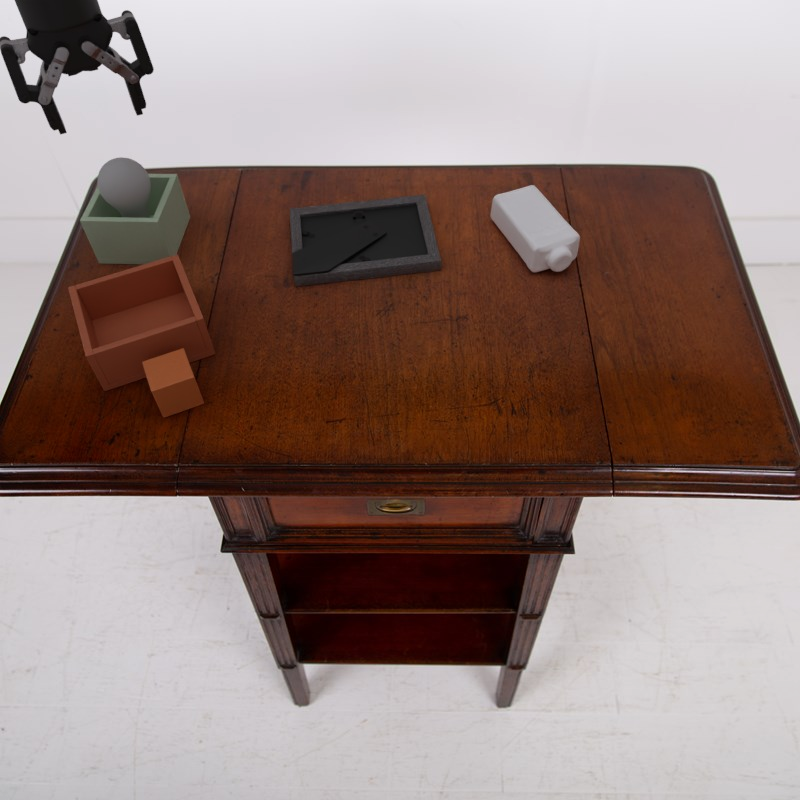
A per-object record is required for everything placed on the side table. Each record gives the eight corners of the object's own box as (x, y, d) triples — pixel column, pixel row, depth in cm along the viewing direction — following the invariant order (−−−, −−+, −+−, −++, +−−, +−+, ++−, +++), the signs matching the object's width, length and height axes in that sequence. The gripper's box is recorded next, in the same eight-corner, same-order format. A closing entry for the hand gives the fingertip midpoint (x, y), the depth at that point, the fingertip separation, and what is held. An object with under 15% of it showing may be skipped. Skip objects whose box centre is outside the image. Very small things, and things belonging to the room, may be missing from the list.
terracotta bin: (104, 391, 83) (85, 356, 78) (86, 323, 90) (67, 287, 85) (215, 354, 86) (203, 318, 81) (190, 290, 92) (177, 253, 88)
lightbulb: (141, 257, 95) (112, 183, 87) (110, 239, 98) (79, 165, 89) (177, 231, 98) (153, 158, 90) (146, 214, 101) (119, 141, 92)
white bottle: (536, 284, 91) (540, 257, 88) (489, 221, 99) (491, 194, 95) (583, 269, 93) (589, 242, 89) (533, 208, 100) (537, 181, 97)
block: (163, 418, 80) (151, 391, 77) (154, 388, 83) (141, 361, 79) (204, 403, 81) (194, 376, 78) (193, 375, 84) (183, 347, 80)
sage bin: (172, 265, 95) (157, 221, 90) (98, 263, 96) (79, 220, 91) (190, 217, 101) (177, 173, 96) (120, 215, 102) (103, 172, 97)
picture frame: (295, 286, 92) (441, 270, 93) (293, 274, 91) (441, 257, 92) (291, 218, 101) (425, 204, 102) (288, 206, 99) (425, 191, 100)
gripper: (-30, -2, 69) (41, 154, 82) (126, -34, 72) (171, 121, 85) (-36, -33, 73) (32, 120, 86) (111, -61, 77) (156, 90, 89)
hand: (101, 120), depth 85 cm, fingers open, 8 cm apart
